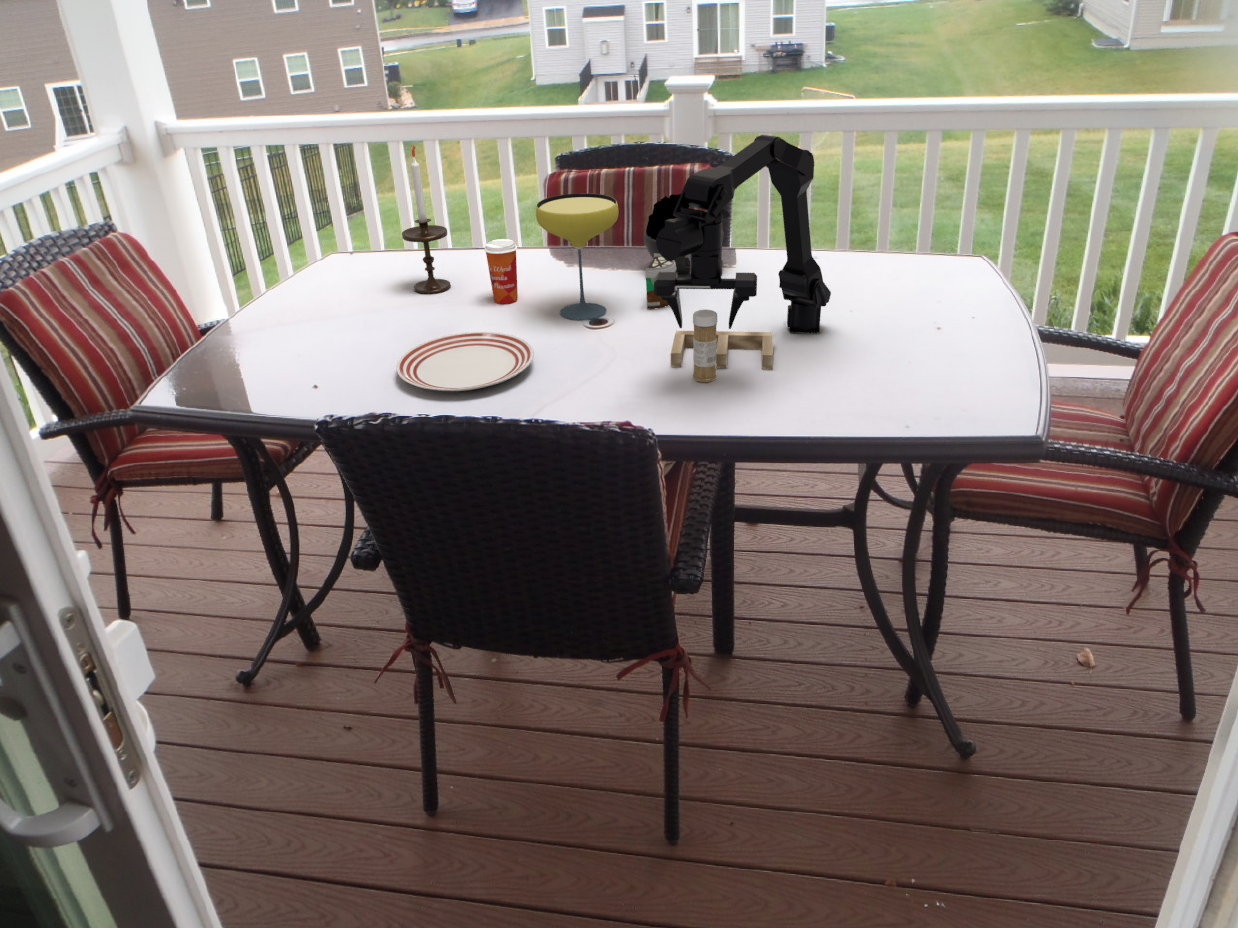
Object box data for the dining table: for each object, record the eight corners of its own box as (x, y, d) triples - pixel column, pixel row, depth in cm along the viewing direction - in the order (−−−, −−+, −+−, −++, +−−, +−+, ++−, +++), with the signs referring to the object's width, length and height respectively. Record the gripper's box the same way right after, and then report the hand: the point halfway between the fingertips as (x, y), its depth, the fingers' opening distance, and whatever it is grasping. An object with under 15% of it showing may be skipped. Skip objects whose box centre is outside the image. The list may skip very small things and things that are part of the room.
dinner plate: (476, 413, 171) (474, 397, 169) (369, 384, 184) (366, 368, 182) (561, 360, 191) (560, 345, 189) (459, 337, 204) (457, 323, 202)
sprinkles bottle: (710, 372, 182) (711, 307, 176) (720, 380, 178) (721, 315, 172) (688, 376, 181) (689, 311, 174) (698, 385, 177) (699, 318, 171)
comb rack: (771, 345, 192) (772, 332, 191) (772, 369, 182) (772, 355, 181) (675, 343, 195) (675, 330, 194) (670, 367, 185) (670, 353, 183)
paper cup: (484, 304, 221) (477, 246, 214) (499, 293, 227) (493, 237, 220) (513, 307, 218) (507, 249, 211) (528, 296, 224) (522, 239, 217)
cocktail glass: (548, 299, 222) (539, 194, 210) (623, 297, 221) (619, 191, 209) (540, 327, 206) (530, 215, 194) (621, 325, 206) (616, 213, 193)
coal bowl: (682, 254, 249) (682, 183, 239) (739, 270, 236) (741, 195, 226) (628, 272, 237) (626, 198, 228) (684, 289, 224) (684, 212, 215)
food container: (672, 312, 212) (672, 270, 207) (646, 311, 213) (645, 269, 208) (680, 294, 222) (680, 253, 217) (655, 293, 223) (654, 252, 218)
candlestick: (461, 289, 231) (443, 143, 213) (421, 298, 226) (399, 150, 208) (443, 278, 239) (423, 137, 221) (403, 287, 234) (381, 143, 216)
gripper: (758, 233, 172) (755, 313, 180) (658, 233, 175) (660, 311, 183) (758, 252, 163) (755, 334, 171) (652, 251, 165) (654, 333, 173)
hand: (705, 327), depth 175 cm, fingers open, 9 cm apart
